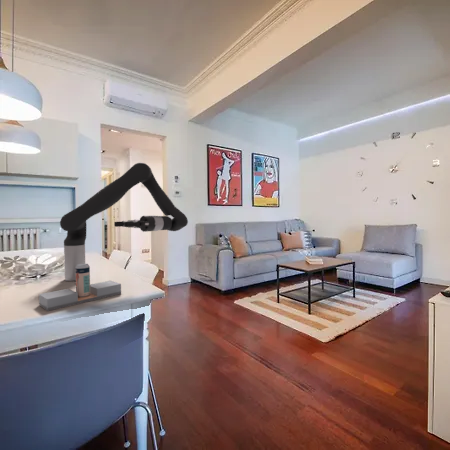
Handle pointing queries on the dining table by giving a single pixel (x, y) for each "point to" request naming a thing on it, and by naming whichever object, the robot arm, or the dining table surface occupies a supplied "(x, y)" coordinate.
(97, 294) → the grey peach bar
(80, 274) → the beer can
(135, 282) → the dining table surface
